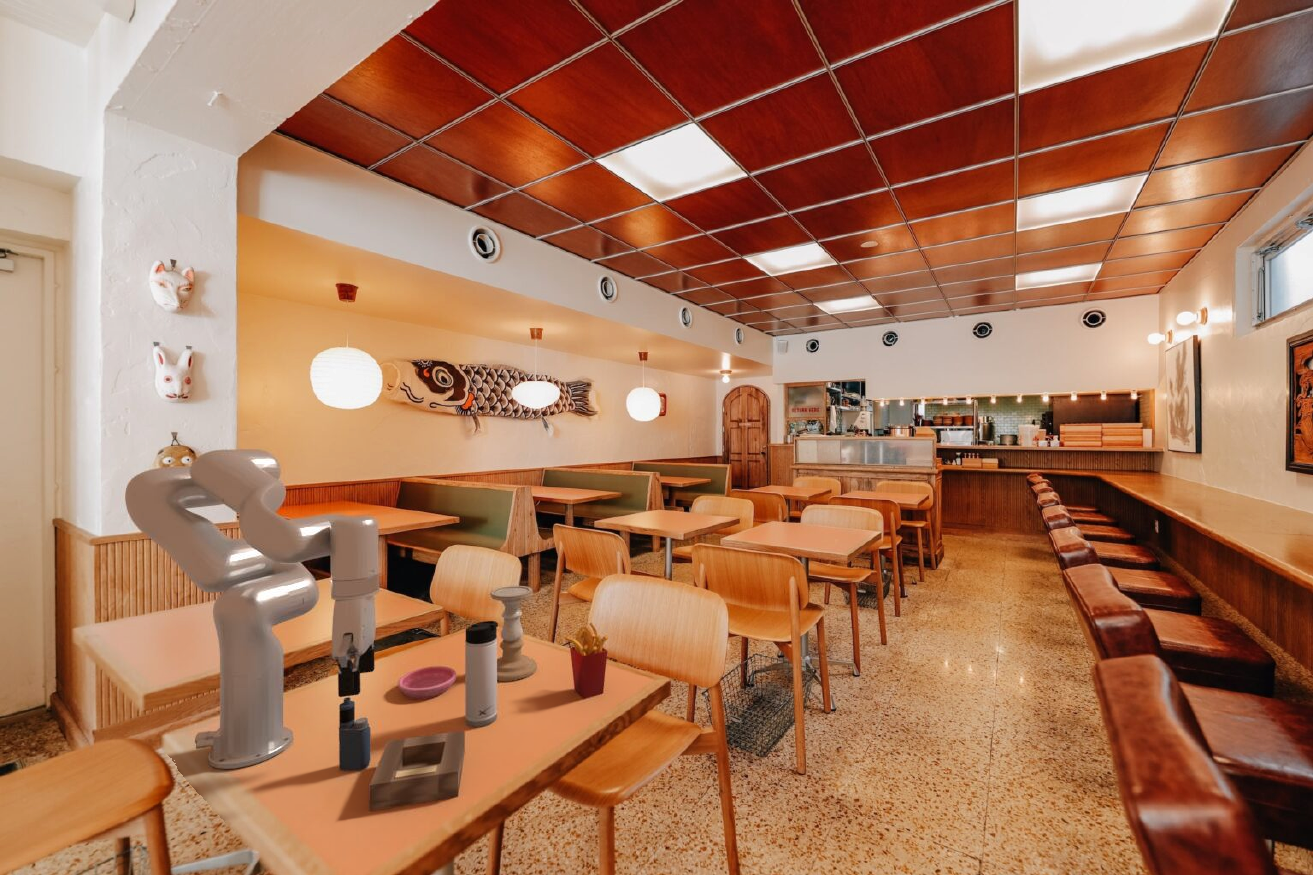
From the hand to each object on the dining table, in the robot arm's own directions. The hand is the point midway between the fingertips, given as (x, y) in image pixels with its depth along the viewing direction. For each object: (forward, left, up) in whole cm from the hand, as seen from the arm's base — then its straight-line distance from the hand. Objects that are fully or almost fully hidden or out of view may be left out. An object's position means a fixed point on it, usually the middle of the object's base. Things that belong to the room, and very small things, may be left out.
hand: (357, 683), depth 95 cm
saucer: (+7, +29, -15) cm, 34 cm away
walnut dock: (+11, -7, -15) cm, 20 cm away
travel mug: (+20, +11, -15) cm, 28 cm away
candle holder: (+26, +34, -15) cm, 46 cm away
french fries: (+42, +18, -15) cm, 49 cm away
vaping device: (-1, 0, -15) cm, 15 cm away
